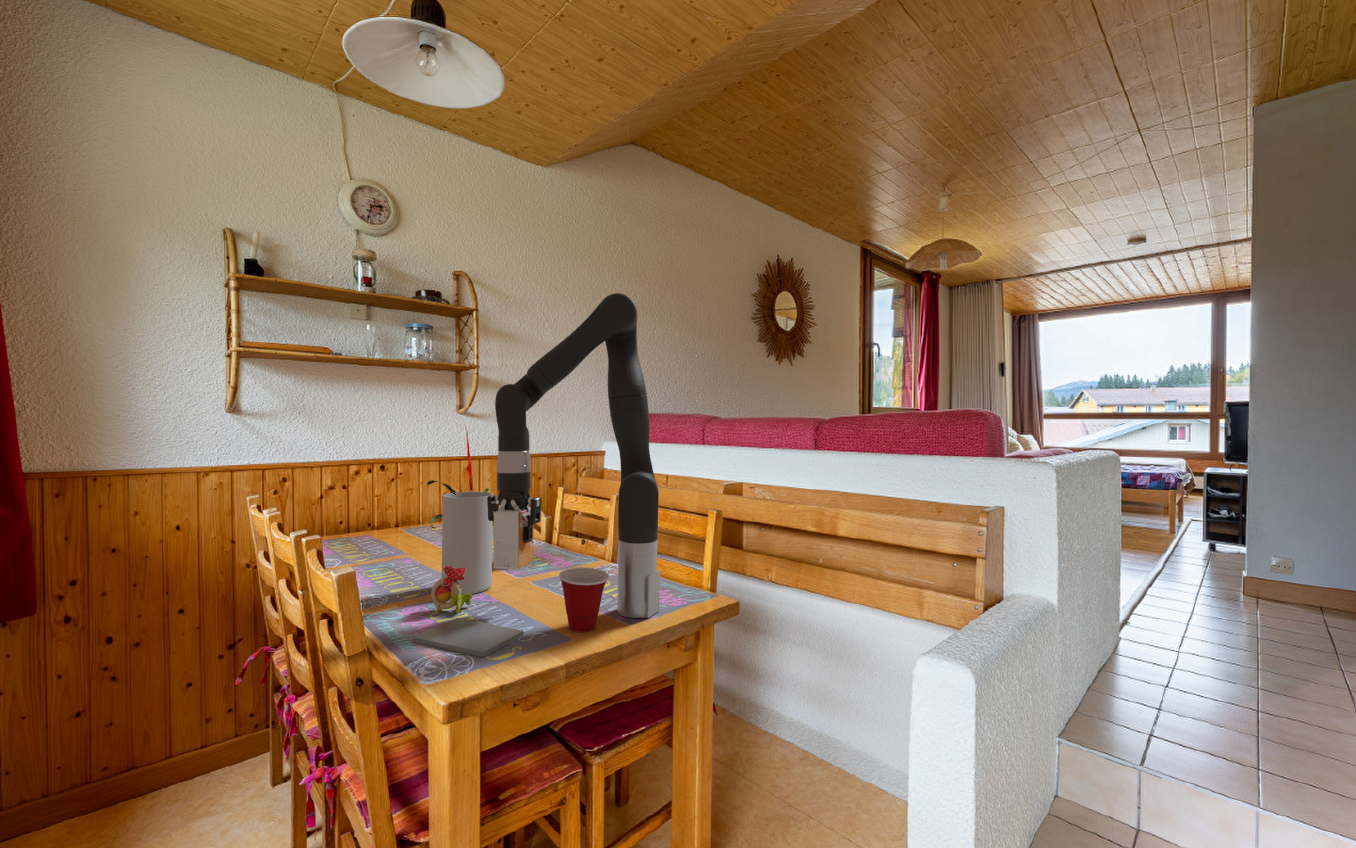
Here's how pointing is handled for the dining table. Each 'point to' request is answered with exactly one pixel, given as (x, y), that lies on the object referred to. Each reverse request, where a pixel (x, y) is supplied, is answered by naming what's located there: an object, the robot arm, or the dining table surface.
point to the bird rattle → (450, 590)
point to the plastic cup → (583, 596)
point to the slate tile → (468, 637)
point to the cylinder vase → (468, 539)
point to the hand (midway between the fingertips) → (514, 540)
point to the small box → (511, 540)
